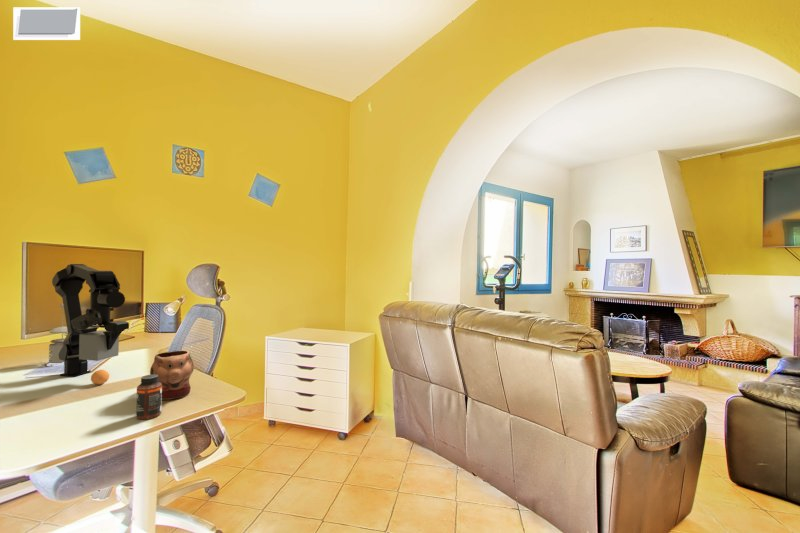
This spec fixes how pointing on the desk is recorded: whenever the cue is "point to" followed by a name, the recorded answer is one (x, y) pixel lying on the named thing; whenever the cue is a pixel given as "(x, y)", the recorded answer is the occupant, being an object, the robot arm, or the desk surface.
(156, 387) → the supplement bottle
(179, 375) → the decorative planter
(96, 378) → the brown egg
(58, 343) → the french press
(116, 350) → the gray cube
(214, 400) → the desk surface
